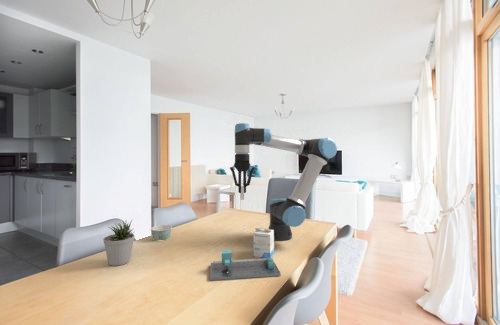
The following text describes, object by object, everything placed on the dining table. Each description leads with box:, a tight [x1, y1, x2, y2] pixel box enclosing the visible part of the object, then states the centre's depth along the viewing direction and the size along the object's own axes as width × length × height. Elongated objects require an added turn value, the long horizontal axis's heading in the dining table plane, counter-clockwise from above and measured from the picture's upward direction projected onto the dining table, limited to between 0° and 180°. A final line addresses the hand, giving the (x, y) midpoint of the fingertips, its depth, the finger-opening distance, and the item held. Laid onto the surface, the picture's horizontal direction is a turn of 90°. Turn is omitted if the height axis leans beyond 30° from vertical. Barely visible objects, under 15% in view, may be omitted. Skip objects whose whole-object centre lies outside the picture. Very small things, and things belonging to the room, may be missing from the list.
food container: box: [150, 224, 173, 241], centre depth 147 cm, size 12×12×6 cm
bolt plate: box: [209, 257, 282, 282], centre depth 105 cm, size 28×14×4 cm, turn 99°
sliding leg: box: [221, 249, 233, 271], centre depth 105 cm, size 4×8×6 cm, turn 9°
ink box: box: [252, 227, 275, 259], centre depth 123 cm, size 9×8×13 cm
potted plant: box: [102, 219, 135, 267], centre depth 113 cm, size 13×14×20 cm
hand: (242, 199), depth 129 cm, fingers closed
